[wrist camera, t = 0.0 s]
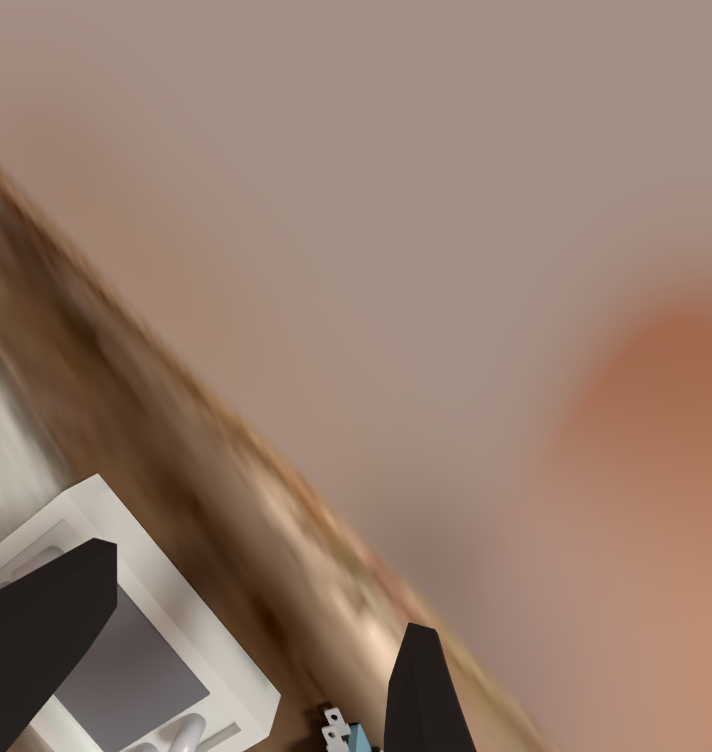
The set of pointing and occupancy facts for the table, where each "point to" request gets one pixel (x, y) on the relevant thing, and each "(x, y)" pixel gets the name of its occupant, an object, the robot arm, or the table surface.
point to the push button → (344, 735)
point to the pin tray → (141, 645)
